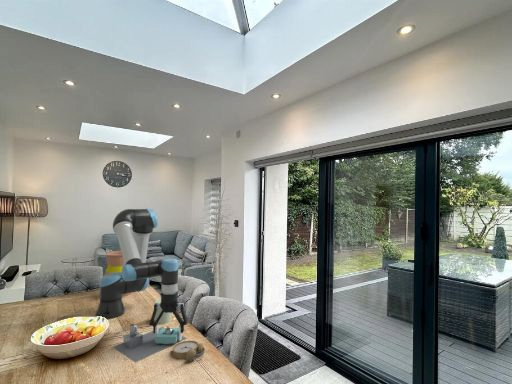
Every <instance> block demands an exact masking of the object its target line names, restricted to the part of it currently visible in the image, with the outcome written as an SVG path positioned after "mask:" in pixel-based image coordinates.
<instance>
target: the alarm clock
mask: <svg viewBox="0 0 512 384" xmlns="http://www.w3.org/2000/svg"><path fill="white" fill-rule="evenodd" d="M205 351H206V348H205V345H204V344H203V343H202V342H198V341H196V340H183V341H180V342H178V343H176V344H174V345H173V346H172V350H170V353H172V356H173V357H174V358H175V359H178V360H186V361H187V362H189V363H190V362H193V361H195V359H196V358H200V357H202V356H203V355H204V354H205Z"/></svg>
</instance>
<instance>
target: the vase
mask: <svg viewBox="0 0 512 384" xmlns="http://www.w3.org/2000/svg"><path fill="white" fill-rule="evenodd" d="M104 256H105V257H106V258H105V259H106V262H107V268H106V270H105V272H104V275H103V276H105V275H108V274H111V273H117V272H121V273H122V267H123V266H124V265H125V263H124V259H123V255H122V252H121V250H111V251H108V252H104ZM131 294H132V293H127V294H122V298H125V297H128V296H130V295H131Z"/></svg>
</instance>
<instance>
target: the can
mask: <svg viewBox="0 0 512 384" xmlns="http://www.w3.org/2000/svg"><path fill="white" fill-rule="evenodd" d="M156 303H158V304H160V303H161V298H159V299H156V300H155V302H154V305H155V304H156ZM161 311H162V308H161V307H160V306H159V308H158V310H157V313H156V316H155V319H154V322H155V321H156V320H157V318H158V316H159V315H160V313H161ZM172 314H173V313H169V312H168V313H165V312H164V313H163V315H162V317H161V318H160V320H159V322H158V323H157V325H165V324H168V323H169V324H170V323H171V322H172V318H173V317H172Z"/></svg>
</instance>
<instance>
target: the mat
mask: <svg viewBox="0 0 512 384" xmlns="http://www.w3.org/2000/svg"><path fill="white" fill-rule="evenodd" d="M162 328H165V327H164V326H162V327H160V328H159V332H160V330H161V329H162ZM142 335H143V344H141V345H138V346H136V347H133V348H131V349H129V348H128V347H126V346H124V345H123V342H122V343H119V344H116V345H113V346H112V348H113V349H115V350H116V351H118V352H119V353H121V354H122V355H123V356H125V357H126V358H128V359H130V360H131V361H133V362H134V363H138V362H140V361H142V360H144V359H146V358H148V357H150V356H152V355H155V354H157V353H159V352H161V351H164V350H165V349H168V348H169V347H171V346H172V347H173V346H175V345H176V344H178V343H180V342H184V341H186V340H187V339H188V337H185V336H183V335H182V338H181V341H179V338H178V340H177V342H176V343H173V344H170V345H162V344H160V343H158V344H156V341H155V333H153V330H152V331H150V332H147V333H144V334H142Z"/></svg>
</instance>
